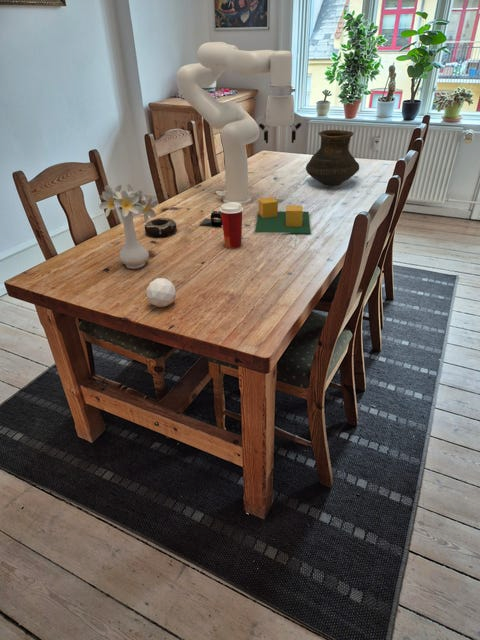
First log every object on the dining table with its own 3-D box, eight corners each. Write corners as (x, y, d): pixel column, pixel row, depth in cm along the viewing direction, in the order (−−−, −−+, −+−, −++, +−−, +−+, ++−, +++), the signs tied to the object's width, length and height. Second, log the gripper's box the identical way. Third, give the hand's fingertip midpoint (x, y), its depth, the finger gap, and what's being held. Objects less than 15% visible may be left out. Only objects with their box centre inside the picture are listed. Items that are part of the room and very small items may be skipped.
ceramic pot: (366, 181, 209) (373, 131, 197) (340, 194, 194) (345, 140, 182) (322, 173, 223) (326, 125, 211) (294, 185, 208) (296, 134, 196)
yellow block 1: (262, 218, 171) (262, 203, 168) (258, 213, 176) (258, 198, 173) (277, 216, 173) (277, 201, 169) (272, 211, 177) (272, 196, 174)
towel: (254, 234, 160) (254, 232, 160) (258, 212, 178) (258, 211, 178) (310, 234, 158) (310, 232, 158) (308, 213, 177) (308, 211, 176)
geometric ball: (157, 315, 121) (135, 297, 117) (169, 293, 125) (148, 275, 121) (174, 310, 116) (152, 291, 112) (186, 287, 120) (165, 268, 116)
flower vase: (155, 276, 135) (143, 195, 121) (102, 270, 139) (84, 191, 125) (172, 258, 145) (163, 182, 131) (122, 253, 149) (107, 179, 136)
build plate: (235, 221, 171) (235, 210, 169) (230, 228, 165) (229, 217, 163) (205, 219, 174) (204, 207, 172) (198, 226, 168) (198, 214, 166)
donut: (139, 236, 162) (137, 226, 159) (155, 225, 171) (153, 215, 168) (167, 240, 158) (166, 229, 156) (182, 228, 167) (181, 217, 165)
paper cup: (247, 241, 154) (246, 202, 147) (239, 250, 148) (238, 210, 141) (226, 239, 157) (224, 200, 149) (218, 248, 151) (215, 208, 143)
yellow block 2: (285, 226, 164) (286, 210, 160) (285, 220, 169) (286, 205, 165) (302, 226, 163) (302, 210, 160) (301, 220, 168) (302, 205, 165)
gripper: (304, 89, 159) (302, 140, 168) (256, 90, 160) (257, 140, 170) (305, 92, 152) (303, 144, 162) (255, 93, 154) (256, 144, 163)
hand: (279, 142), depth 166 cm, fingers open, 9 cm apart
